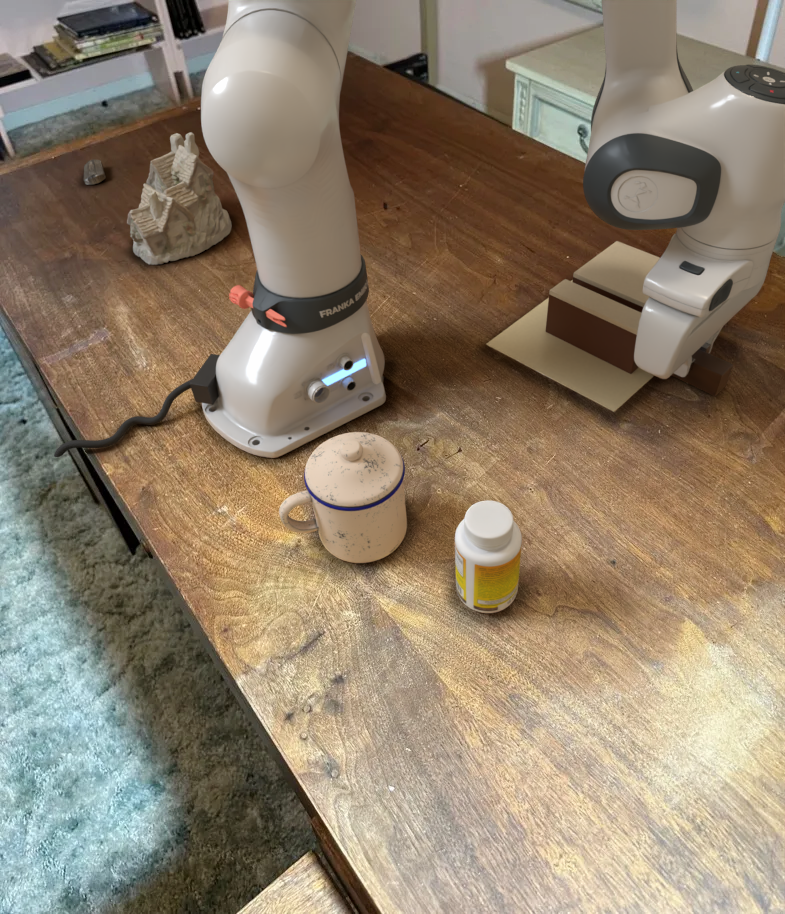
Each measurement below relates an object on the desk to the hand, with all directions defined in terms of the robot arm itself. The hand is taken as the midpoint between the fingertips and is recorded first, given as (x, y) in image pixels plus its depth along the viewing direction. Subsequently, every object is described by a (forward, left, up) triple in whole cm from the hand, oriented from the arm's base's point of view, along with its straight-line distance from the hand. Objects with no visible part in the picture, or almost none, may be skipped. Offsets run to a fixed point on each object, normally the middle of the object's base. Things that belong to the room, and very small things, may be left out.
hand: (689, 363), depth 83 cm
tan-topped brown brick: (-2, +11, -2) cm, 11 cm away
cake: (+6, +11, -2) cm, 13 cm away
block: (-16, +102, -4) cm, 103 cm away
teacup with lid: (-39, +13, -4) cm, 42 cm away
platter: (+2, +12, -3) cm, 13 cm away
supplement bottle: (-35, -1, -4) cm, 35 cm away
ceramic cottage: (-17, +75, -4) cm, 77 cm away
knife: (0, +5, -2) cm, 5 cm away
